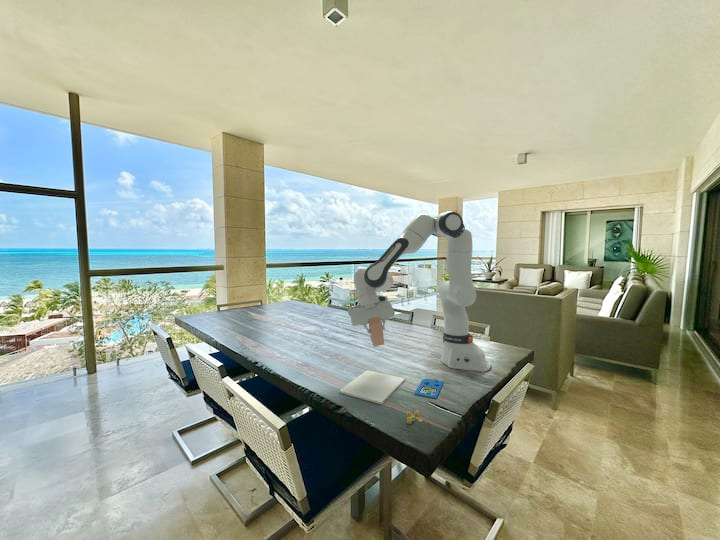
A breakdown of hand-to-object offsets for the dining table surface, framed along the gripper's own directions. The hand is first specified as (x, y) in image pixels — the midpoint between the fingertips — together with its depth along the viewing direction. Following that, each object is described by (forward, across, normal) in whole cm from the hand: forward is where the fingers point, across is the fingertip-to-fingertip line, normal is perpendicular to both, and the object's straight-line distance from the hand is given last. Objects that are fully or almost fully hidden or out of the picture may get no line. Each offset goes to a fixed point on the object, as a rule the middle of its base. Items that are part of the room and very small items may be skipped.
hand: (376, 331), depth 131 cm
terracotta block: (+4, 0, +5) cm, 6 cm away
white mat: (+22, -8, -6) cm, 24 cm away
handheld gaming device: (+28, +13, -9) cm, 32 cm away
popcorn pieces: (+34, 0, -28) cm, 44 cm away
